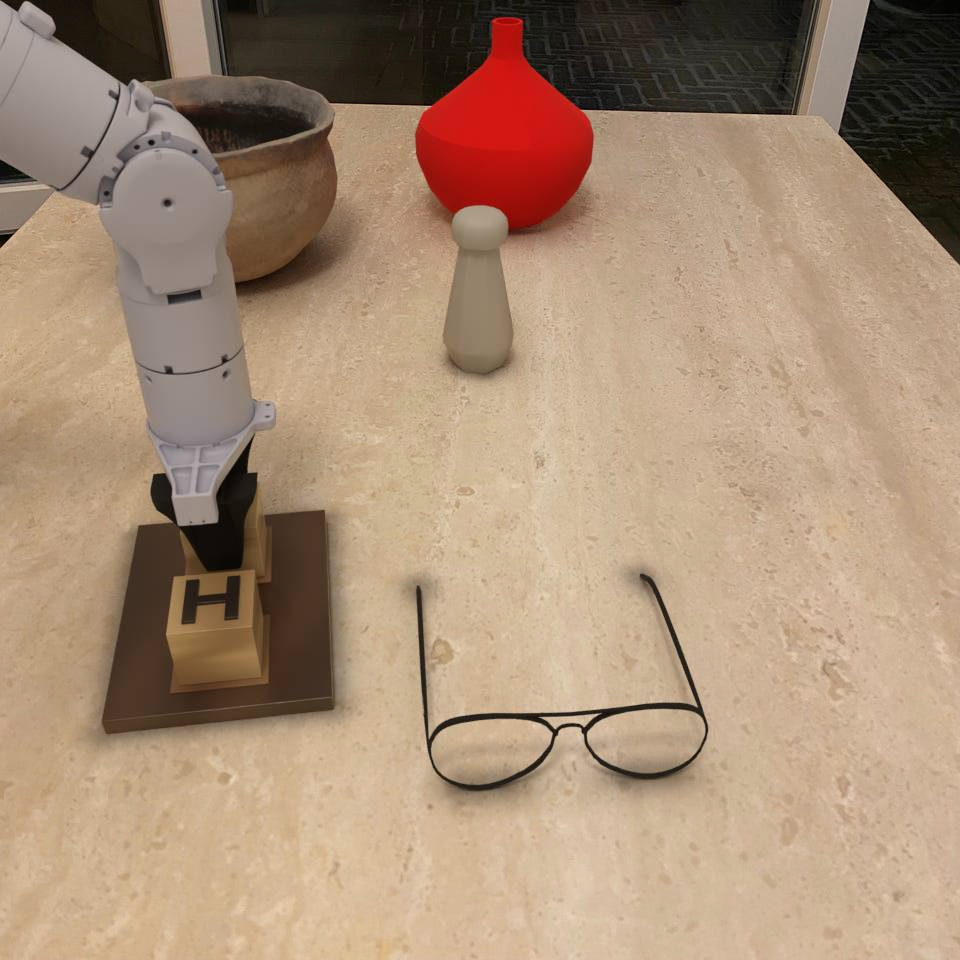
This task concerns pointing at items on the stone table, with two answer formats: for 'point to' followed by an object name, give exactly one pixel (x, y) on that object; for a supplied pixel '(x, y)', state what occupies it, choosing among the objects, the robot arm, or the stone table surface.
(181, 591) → the tile
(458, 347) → the salt shaker
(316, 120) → the ceramic bowl
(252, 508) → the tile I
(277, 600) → the word board
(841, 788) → the stone table surface
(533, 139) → the vase
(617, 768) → the glasses
